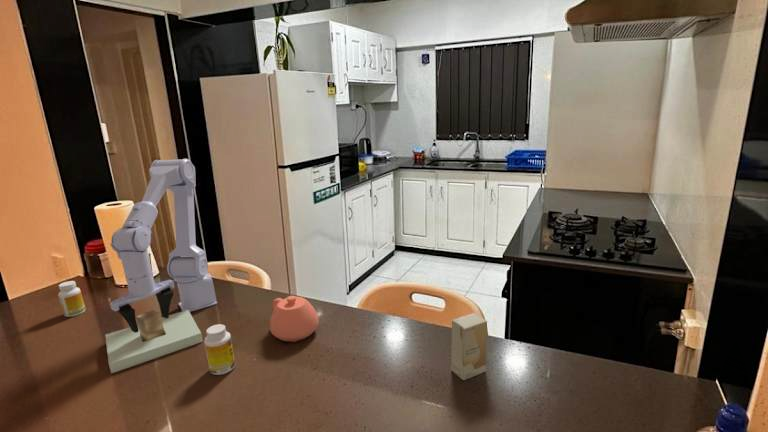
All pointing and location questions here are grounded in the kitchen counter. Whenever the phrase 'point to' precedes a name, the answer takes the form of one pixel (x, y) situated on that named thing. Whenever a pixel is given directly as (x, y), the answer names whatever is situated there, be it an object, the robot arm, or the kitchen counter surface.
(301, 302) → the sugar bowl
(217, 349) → the supplement bottle
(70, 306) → the supplement bottle
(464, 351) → the skincare box
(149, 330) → the oak peg
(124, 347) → the socket board
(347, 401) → the kitchen counter surface
